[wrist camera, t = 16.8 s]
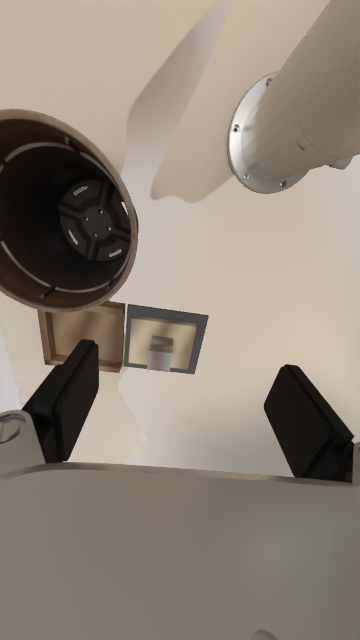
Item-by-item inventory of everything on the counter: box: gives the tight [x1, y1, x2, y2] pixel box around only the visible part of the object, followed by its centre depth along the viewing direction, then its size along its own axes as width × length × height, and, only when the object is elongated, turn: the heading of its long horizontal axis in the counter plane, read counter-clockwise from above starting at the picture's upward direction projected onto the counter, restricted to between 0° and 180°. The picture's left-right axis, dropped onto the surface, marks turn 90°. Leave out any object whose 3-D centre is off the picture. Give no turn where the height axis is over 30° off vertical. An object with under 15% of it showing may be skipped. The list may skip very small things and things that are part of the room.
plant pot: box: [0, 109, 138, 313], centre depth 26 cm, size 16×16×16 cm
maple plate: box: [129, 316, 197, 372], centre depth 40 cm, size 12×10×6 cm
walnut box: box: [37, 301, 125, 373], centre depth 41 cm, size 14×14×3 cm
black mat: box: [124, 304, 208, 374], centre depth 43 cm, size 15×14×1 cm
